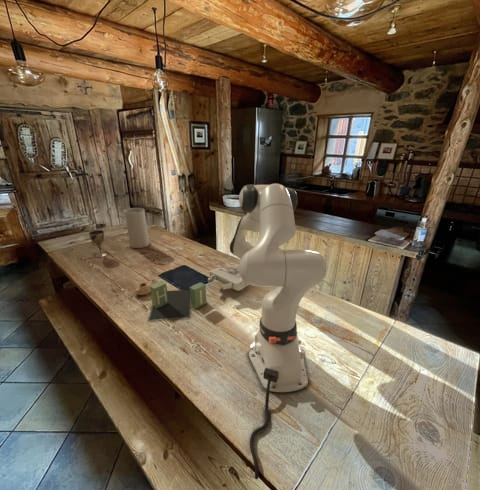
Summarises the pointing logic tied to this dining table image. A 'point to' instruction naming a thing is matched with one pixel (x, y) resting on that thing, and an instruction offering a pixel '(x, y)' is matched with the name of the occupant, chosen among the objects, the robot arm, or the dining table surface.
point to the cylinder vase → (136, 227)
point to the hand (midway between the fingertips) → (215, 284)
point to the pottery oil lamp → (144, 287)
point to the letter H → (159, 294)
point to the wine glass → (98, 241)
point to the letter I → (198, 295)
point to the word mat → (173, 306)
